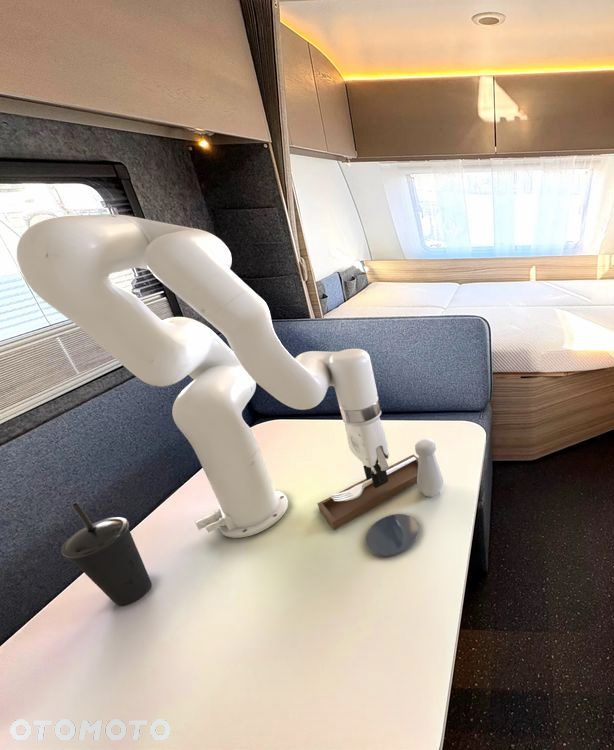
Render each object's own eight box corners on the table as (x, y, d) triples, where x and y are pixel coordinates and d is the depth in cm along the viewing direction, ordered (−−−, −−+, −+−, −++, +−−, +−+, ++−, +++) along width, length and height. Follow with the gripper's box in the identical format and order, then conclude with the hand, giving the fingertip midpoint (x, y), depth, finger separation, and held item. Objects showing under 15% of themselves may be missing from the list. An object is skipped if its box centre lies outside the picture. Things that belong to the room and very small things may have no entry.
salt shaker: (439, 501, 83) (432, 452, 78) (414, 498, 84) (406, 449, 79) (447, 483, 89) (442, 436, 83) (424, 480, 90) (417, 433, 84)
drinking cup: (94, 622, 62) (24, 531, 53) (115, 583, 68) (55, 495, 59) (153, 603, 64) (95, 513, 56) (167, 566, 71) (118, 481, 62)
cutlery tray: (333, 530, 77) (331, 522, 76) (319, 510, 82) (317, 503, 81) (431, 474, 92) (430, 467, 91) (414, 460, 97) (413, 454, 96)
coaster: (382, 566, 69) (381, 564, 69) (357, 535, 76) (356, 533, 75) (428, 535, 75) (428, 532, 75) (402, 508, 82) (401, 506, 82)
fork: (419, 462, 91) (418, 456, 90) (336, 508, 78) (334, 501, 78) (412, 457, 93) (411, 450, 92) (330, 500, 81) (328, 494, 80)
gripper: (326, 403, 81) (346, 472, 89) (361, 432, 70) (379, 508, 78) (360, 390, 85) (375, 457, 93) (397, 416, 75) (411, 489, 82)
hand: (377, 480), depth 86 cm, fingers closed on fork, 2 cm apart
